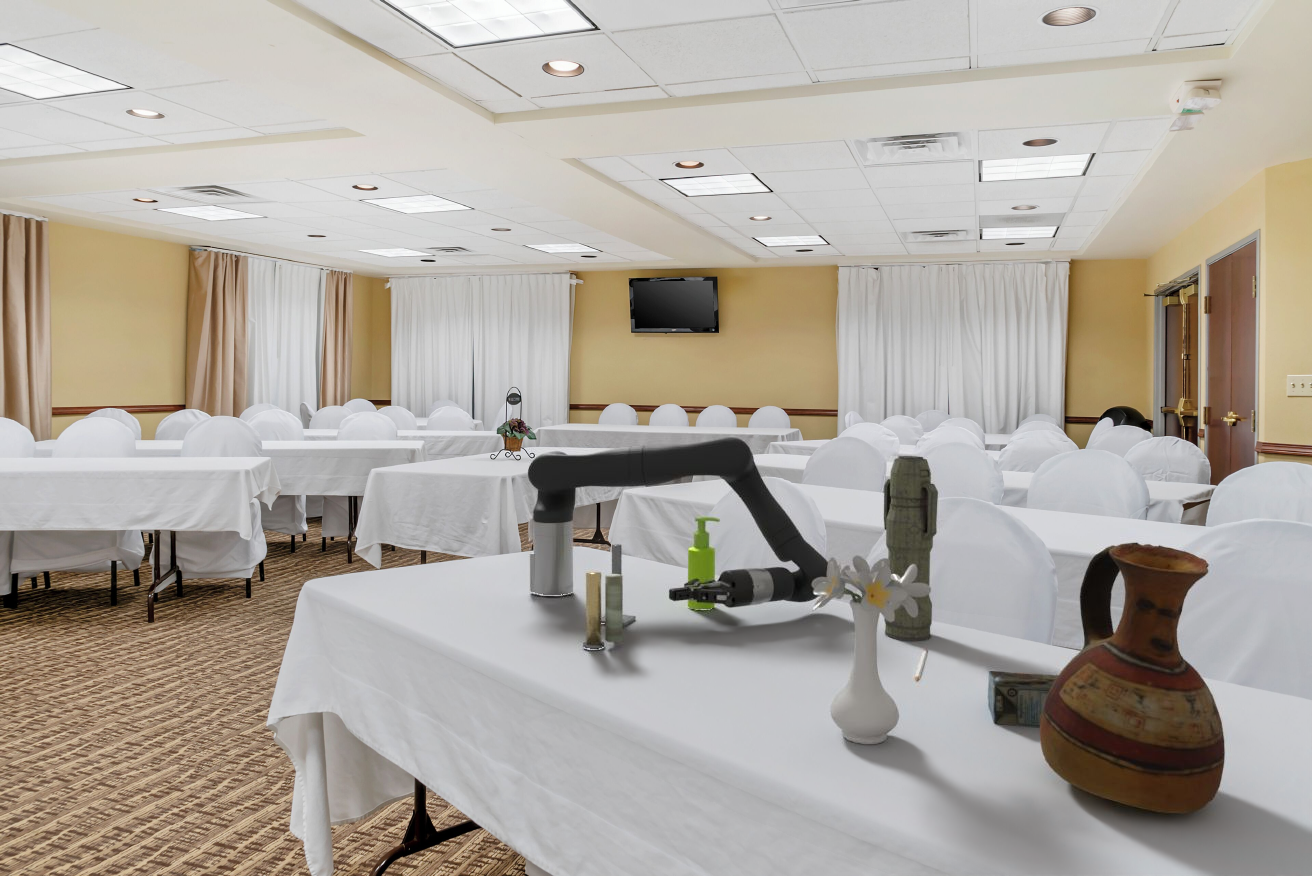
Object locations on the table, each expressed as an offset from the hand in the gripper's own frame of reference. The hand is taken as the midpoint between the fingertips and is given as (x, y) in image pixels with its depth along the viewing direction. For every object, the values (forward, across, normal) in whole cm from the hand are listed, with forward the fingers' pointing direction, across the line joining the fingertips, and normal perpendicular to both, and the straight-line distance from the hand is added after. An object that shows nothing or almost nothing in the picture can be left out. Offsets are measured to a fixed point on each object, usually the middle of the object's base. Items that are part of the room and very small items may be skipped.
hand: (670, 595), depth 176 cm
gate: (+11, -2, +6) cm, 13 cm away
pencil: (-30, +37, +8) cm, 49 cm away
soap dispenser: (-16, -15, +8) cm, 23 cm away
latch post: (+17, +3, +8) cm, 19 cm away
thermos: (-41, +22, +7) cm, 47 cm away
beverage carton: (-30, +66, +7) cm, 73 cm away
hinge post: (+6, -12, +8) cm, 16 cm away
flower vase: (-1, +58, +7) cm, 58 cm away
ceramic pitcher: (-19, +85, +7) cm, 88 cm away
